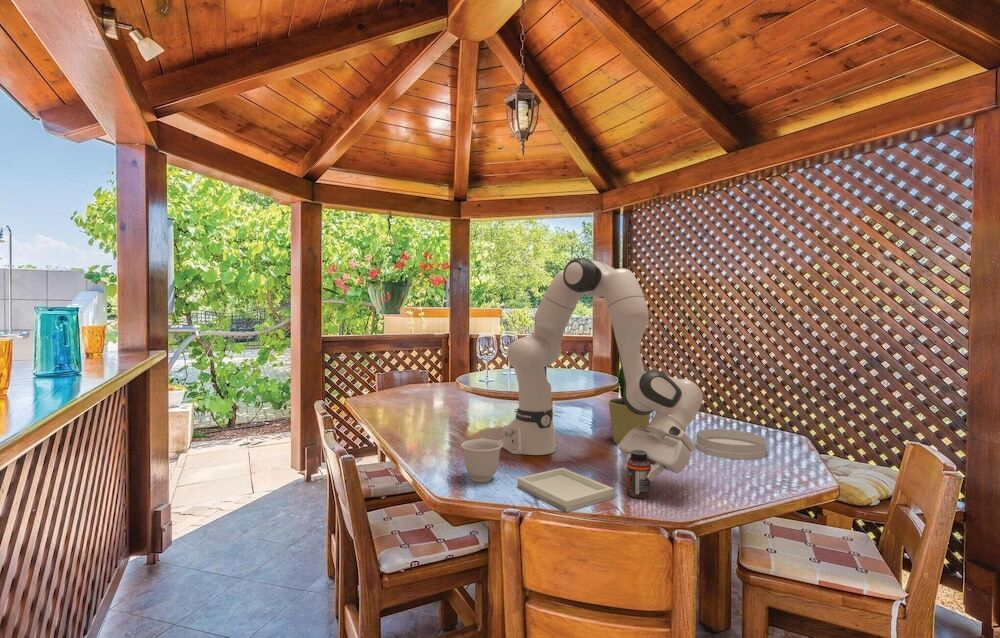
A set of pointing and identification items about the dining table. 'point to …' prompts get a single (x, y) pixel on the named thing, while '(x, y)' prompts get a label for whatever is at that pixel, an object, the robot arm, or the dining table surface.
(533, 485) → the tray
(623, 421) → the potted cactus
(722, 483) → the dining table surface
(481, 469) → the teacup
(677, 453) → the robot arm
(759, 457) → the dish
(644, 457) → the supplement bottle
